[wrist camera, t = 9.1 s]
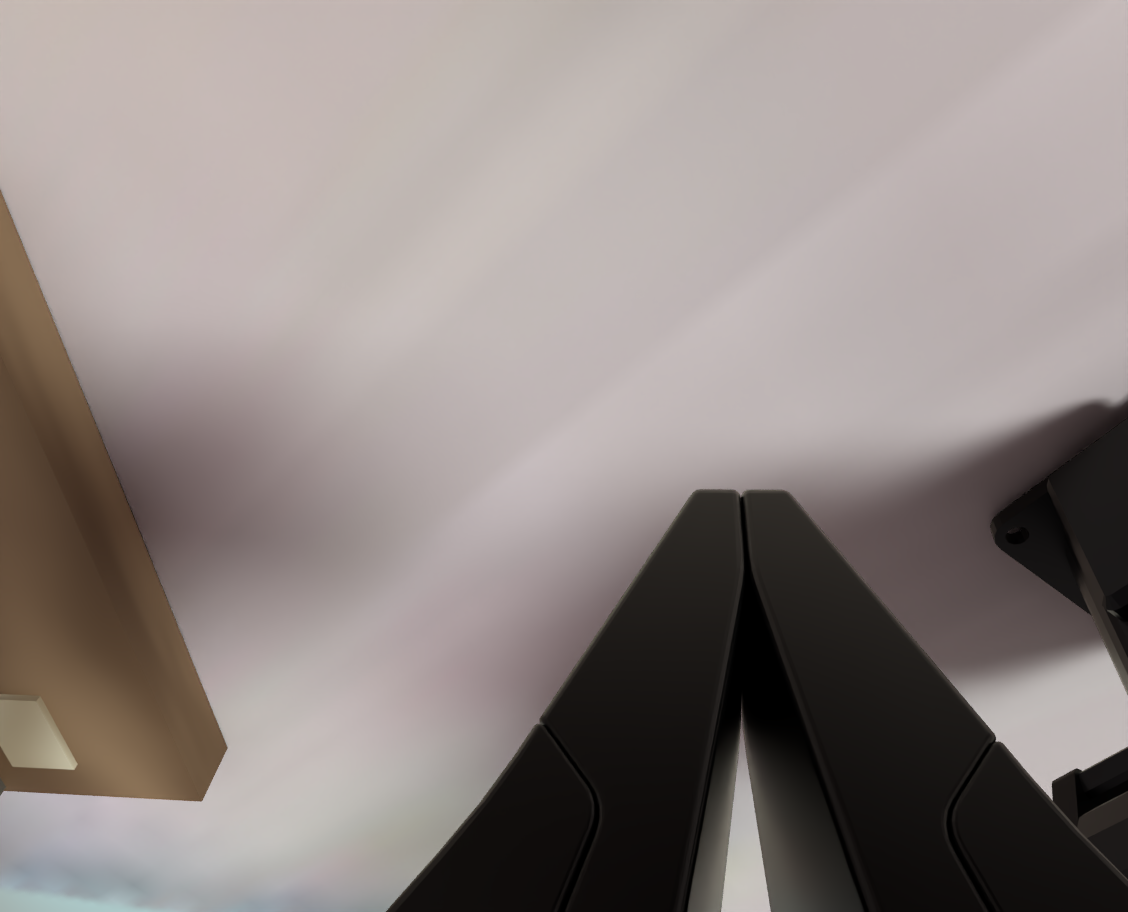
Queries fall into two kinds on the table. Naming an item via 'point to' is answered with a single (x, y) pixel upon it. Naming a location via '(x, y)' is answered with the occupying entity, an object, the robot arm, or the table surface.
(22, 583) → the switch box
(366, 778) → the table surface
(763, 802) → the robot arm
